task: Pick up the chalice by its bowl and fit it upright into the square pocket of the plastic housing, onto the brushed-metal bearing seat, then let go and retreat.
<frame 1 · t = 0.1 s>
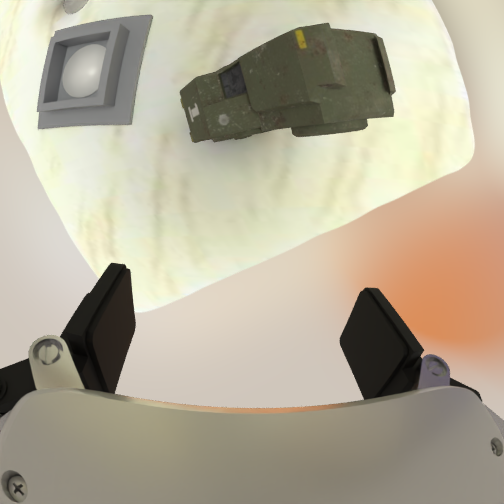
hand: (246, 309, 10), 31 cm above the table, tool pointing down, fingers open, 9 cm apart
mechanical leg: (242, 113, 35), on the table
housing: (89, 71, 28), on the table
chalice: (77, 2, 21), on the table
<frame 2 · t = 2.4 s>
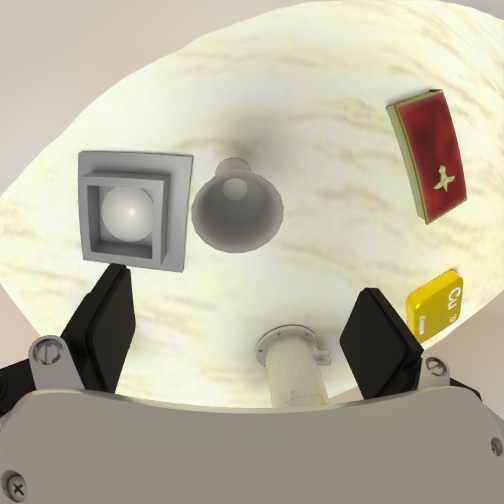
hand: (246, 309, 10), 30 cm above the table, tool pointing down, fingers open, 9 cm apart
element tile: (430, 302, 53), on the table
hardcover book: (424, 152, 38), on the table
housing: (130, 211, 38), on the table
chalice: (233, 175, 38), on the table
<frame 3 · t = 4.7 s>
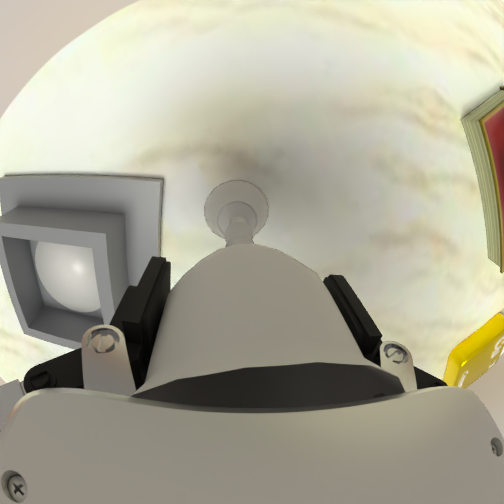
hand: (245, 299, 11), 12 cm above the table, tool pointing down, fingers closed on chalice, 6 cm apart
element tile: (471, 349, 37), on the table
hardcover book: (498, 175, 22), on the table
housing: (75, 267, 22), on the table
chalice: (236, 210, 22), on the table, touching gripper
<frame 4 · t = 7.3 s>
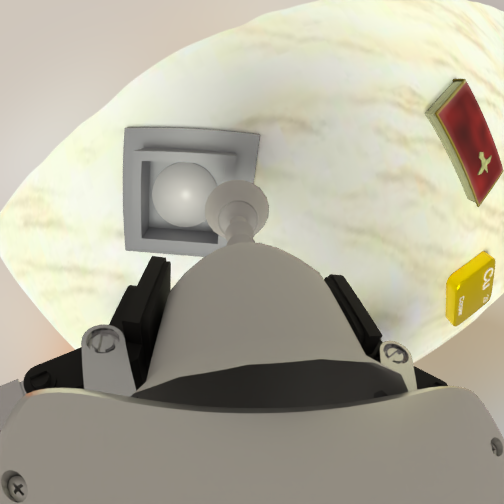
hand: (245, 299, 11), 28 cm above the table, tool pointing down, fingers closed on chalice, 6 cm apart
element tile: (465, 284, 51), on the table
hardcover book: (462, 141, 35), on the table
housing: (185, 193, 36), on the table
chalice: (236, 210, 22), point 16 cm above the table, touching gripper
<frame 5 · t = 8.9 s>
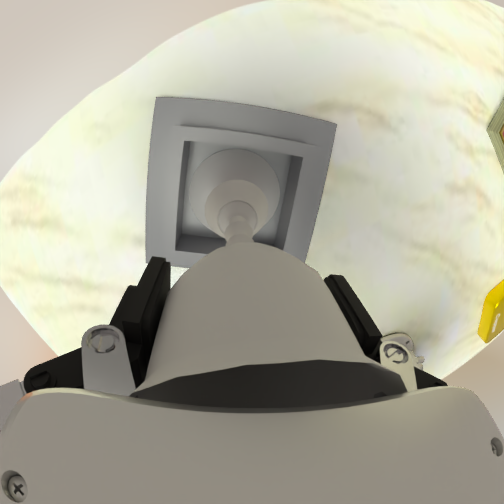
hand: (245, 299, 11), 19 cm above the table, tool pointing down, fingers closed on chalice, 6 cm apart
element tile: (498, 300, 43), on the table
housing: (234, 191, 28), on the table
chalice: (236, 209, 22), point 7 cm above the table, touching gripper
when the fingers open (14 cm above the table, at t = 10.2 s): chalice drops 1 cm, resting on housing.
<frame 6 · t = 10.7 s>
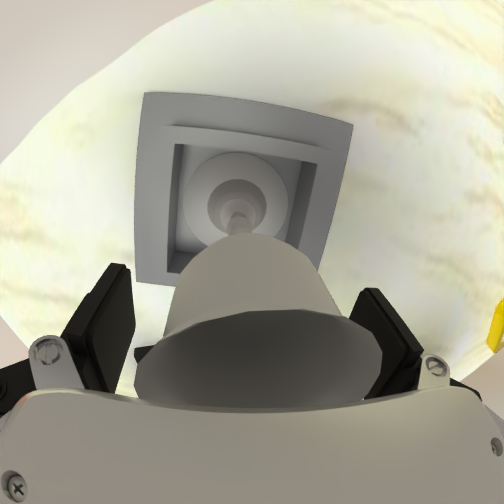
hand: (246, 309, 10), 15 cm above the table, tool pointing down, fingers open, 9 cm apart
housing: (235, 201, 24), on the table
chalice: (236, 207, 23), point 1 cm above the table, touching housing
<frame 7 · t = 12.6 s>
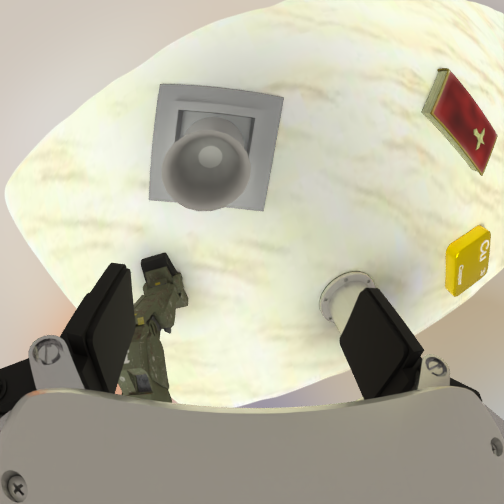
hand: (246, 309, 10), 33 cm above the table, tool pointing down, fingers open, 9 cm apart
element tile: (463, 256, 54), on the table
hardcover book: (456, 122, 38), on the table
mechanical leg: (166, 284, 48), on the table
housing: (212, 146, 38), on the table
chalice: (213, 148, 37), point 1 cm above the table, touching housing
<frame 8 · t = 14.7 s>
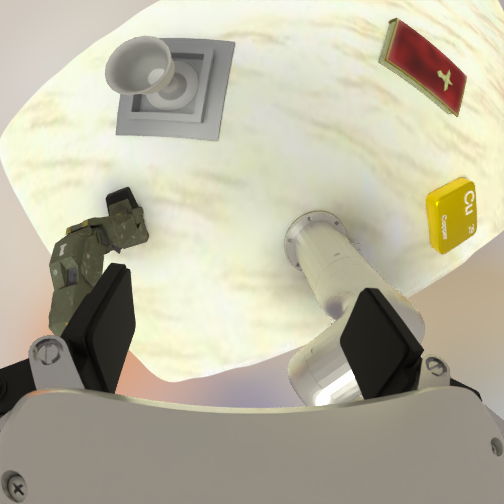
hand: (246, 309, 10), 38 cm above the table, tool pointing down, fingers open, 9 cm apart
element tile: (447, 211, 53), on the table
hardcover book: (420, 68, 37), on the table
mechanical leg: (129, 220, 47), on the table
housing: (172, 86, 37), on the table
chalice: (172, 86, 36), point 1 cm above the table, touching housing
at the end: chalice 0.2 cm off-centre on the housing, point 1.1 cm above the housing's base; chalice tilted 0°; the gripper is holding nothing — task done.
